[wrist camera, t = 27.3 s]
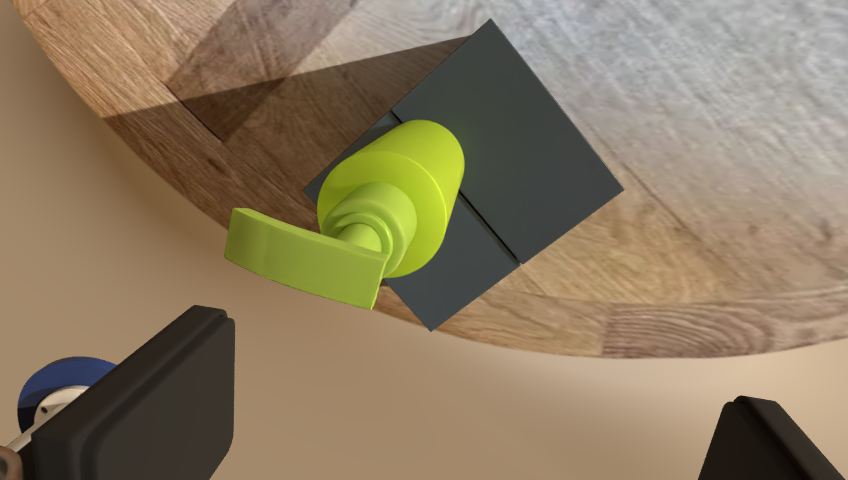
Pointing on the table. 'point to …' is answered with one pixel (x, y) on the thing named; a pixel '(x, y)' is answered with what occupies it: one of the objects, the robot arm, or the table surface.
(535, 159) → the carton
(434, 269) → the flap
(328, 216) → the soap dispenser
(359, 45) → the table surface
